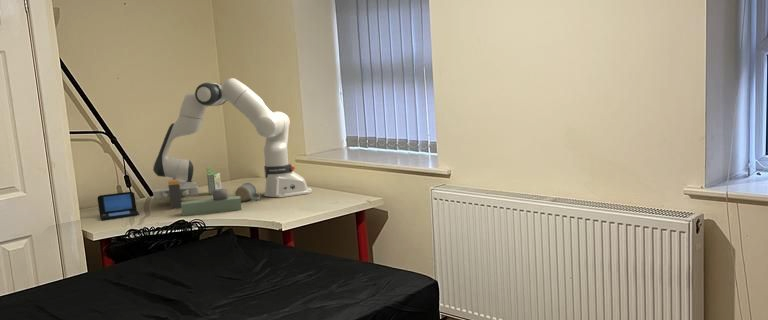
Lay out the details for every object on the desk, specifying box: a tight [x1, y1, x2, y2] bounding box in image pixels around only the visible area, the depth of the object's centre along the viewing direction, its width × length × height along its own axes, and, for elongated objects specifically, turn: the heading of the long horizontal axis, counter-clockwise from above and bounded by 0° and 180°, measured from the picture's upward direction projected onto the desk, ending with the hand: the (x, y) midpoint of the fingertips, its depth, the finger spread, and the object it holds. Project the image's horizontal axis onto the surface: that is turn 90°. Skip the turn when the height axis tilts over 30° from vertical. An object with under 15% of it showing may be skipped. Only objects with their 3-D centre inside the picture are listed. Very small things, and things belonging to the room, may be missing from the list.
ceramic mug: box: [235, 182, 261, 203], centre depth 330 cm, size 11×8×8 cm
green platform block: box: [180, 188, 243, 217], centre depth 313 cm, size 25×12×9 cm, turn 103°
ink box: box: [206, 165, 222, 196], centre depth 352 cm, size 7×4×13 cm, turn 168°
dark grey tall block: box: [168, 179, 183, 210], centre depth 323 cm, size 4×6×13 cm
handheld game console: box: [97, 191, 140, 221], centre depth 314 cm, size 16×13×9 cm
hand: (175, 194), depth 322 cm, fingers open, 7 cm apart
